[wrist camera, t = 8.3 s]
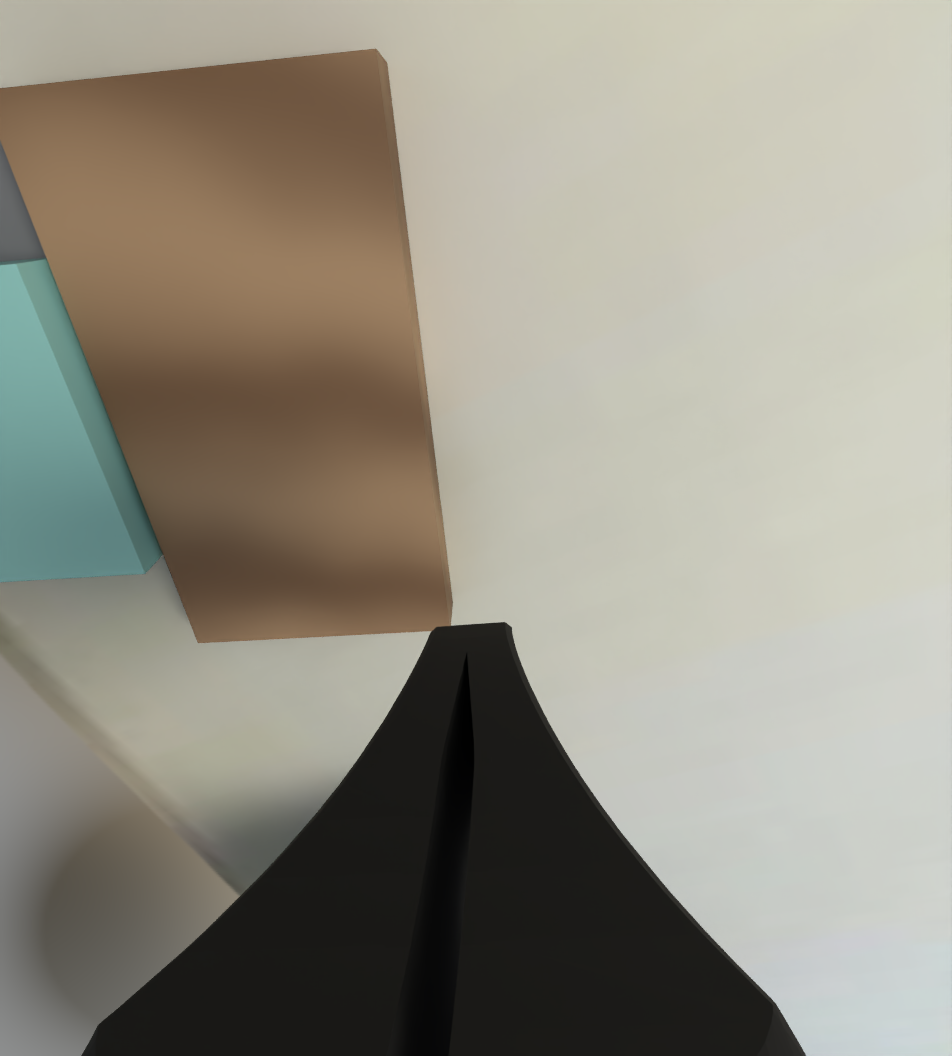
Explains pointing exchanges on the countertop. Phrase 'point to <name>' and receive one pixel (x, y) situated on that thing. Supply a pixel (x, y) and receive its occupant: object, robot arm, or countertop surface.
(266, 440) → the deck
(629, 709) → the countertop surface
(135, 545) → the teal rectangular block
